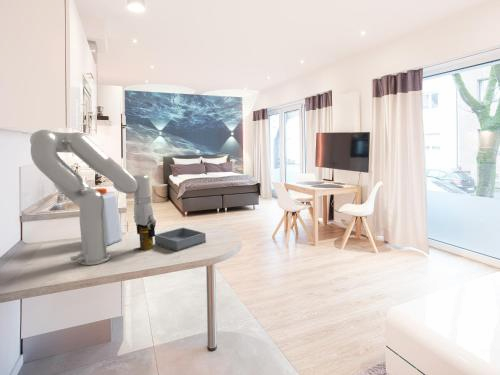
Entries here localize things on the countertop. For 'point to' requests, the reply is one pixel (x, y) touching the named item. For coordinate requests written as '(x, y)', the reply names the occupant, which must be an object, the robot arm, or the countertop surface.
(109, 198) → the plastic bottle
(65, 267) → the countertop surface
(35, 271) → the countertop surface
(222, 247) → the countertop surface
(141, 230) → the condiment
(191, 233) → the open bin
